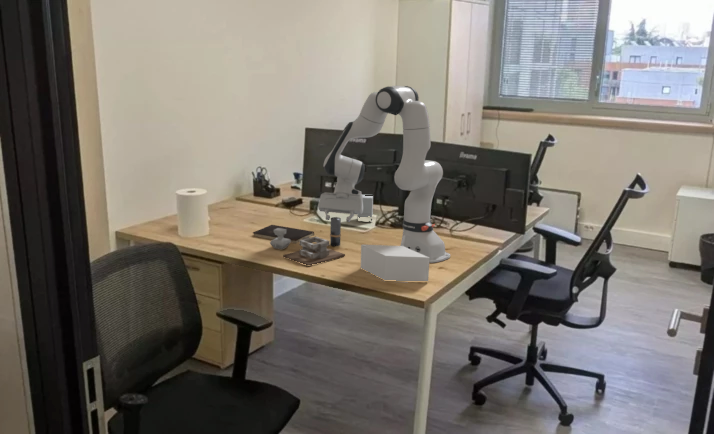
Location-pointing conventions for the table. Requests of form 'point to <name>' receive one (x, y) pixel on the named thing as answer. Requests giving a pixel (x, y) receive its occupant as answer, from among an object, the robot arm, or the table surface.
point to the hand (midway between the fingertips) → (337, 220)
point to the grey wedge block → (394, 263)
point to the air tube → (335, 231)
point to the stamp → (280, 239)
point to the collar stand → (313, 251)
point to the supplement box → (367, 206)
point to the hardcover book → (290, 234)
